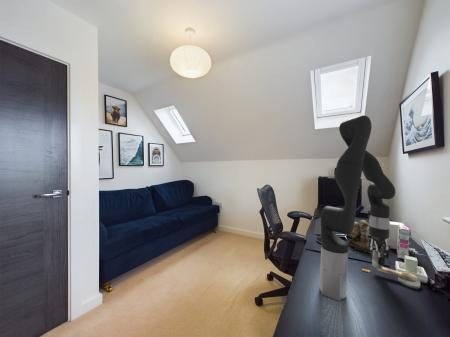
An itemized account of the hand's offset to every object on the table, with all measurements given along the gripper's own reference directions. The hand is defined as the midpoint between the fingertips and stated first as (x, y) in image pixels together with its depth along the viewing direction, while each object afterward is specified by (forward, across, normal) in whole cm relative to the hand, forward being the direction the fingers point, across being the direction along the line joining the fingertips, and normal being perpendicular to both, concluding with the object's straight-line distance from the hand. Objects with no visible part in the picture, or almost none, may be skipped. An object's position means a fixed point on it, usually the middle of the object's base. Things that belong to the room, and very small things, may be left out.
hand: (377, 261), depth 92 cm
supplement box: (+6, +39, -29) cm, 48 cm away
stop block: (+5, +3, -15) cm, 16 cm away
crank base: (+6, -3, -4) cm, 7 cm away
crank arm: (+3, -3, -5) cm, 7 cm away
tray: (+6, +3, -15) cm, 17 cm away
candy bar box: (+6, +25, -25) cm, 36 cm away
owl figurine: (+6, +31, -7) cm, 33 cm away
